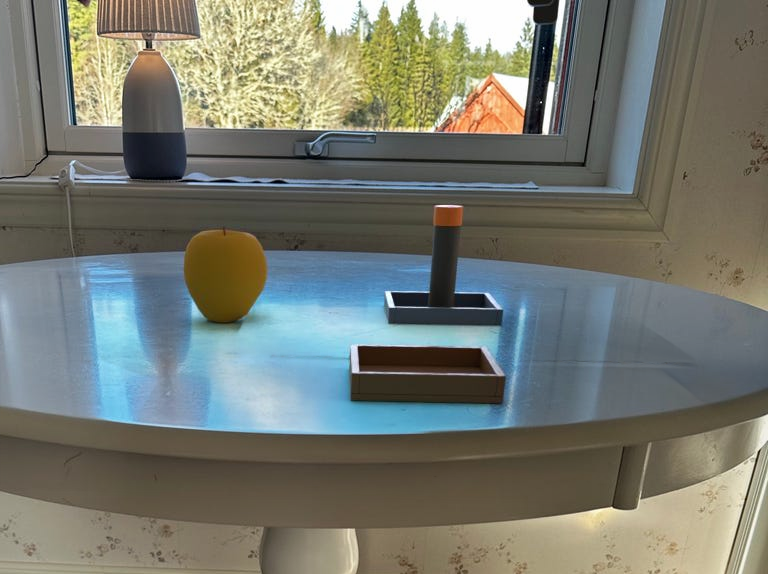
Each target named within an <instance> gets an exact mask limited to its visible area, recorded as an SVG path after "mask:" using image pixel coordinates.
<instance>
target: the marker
mask: <svg viewBox="0 0 768 574" xmlns="http://www.w3.org/2000/svg"><path fill="white" fill-rule="evenodd" d="M463 215H464V206H463V205H457V204H438V205H434V209H433V222H432V223H433V236H432V237H433V238H432V251H431V252H432V253H431V261H430V262H431V263H430V274H429V275H430V276H429V277H430V278H429V290H428V292H429V302H428V307H446V308H453V307H454V296H455V292H456V284H457V272H458V260H459V249H460V239H461V238H460V237H461V228H462V227H461V226H462V225H463Z"/></svg>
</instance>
